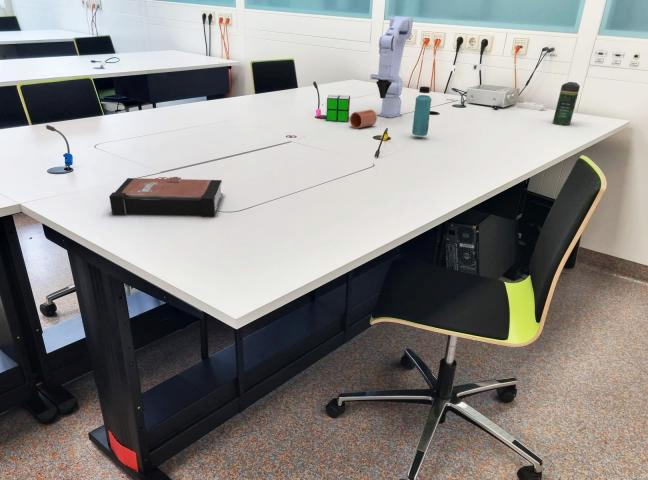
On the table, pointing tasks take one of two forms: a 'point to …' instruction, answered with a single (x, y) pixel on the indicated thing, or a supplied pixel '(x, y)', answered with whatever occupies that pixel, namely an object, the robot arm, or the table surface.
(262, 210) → the table surface
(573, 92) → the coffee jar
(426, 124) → the beverage bottle
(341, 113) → the puzzle cube
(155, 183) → the book
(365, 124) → the cup
